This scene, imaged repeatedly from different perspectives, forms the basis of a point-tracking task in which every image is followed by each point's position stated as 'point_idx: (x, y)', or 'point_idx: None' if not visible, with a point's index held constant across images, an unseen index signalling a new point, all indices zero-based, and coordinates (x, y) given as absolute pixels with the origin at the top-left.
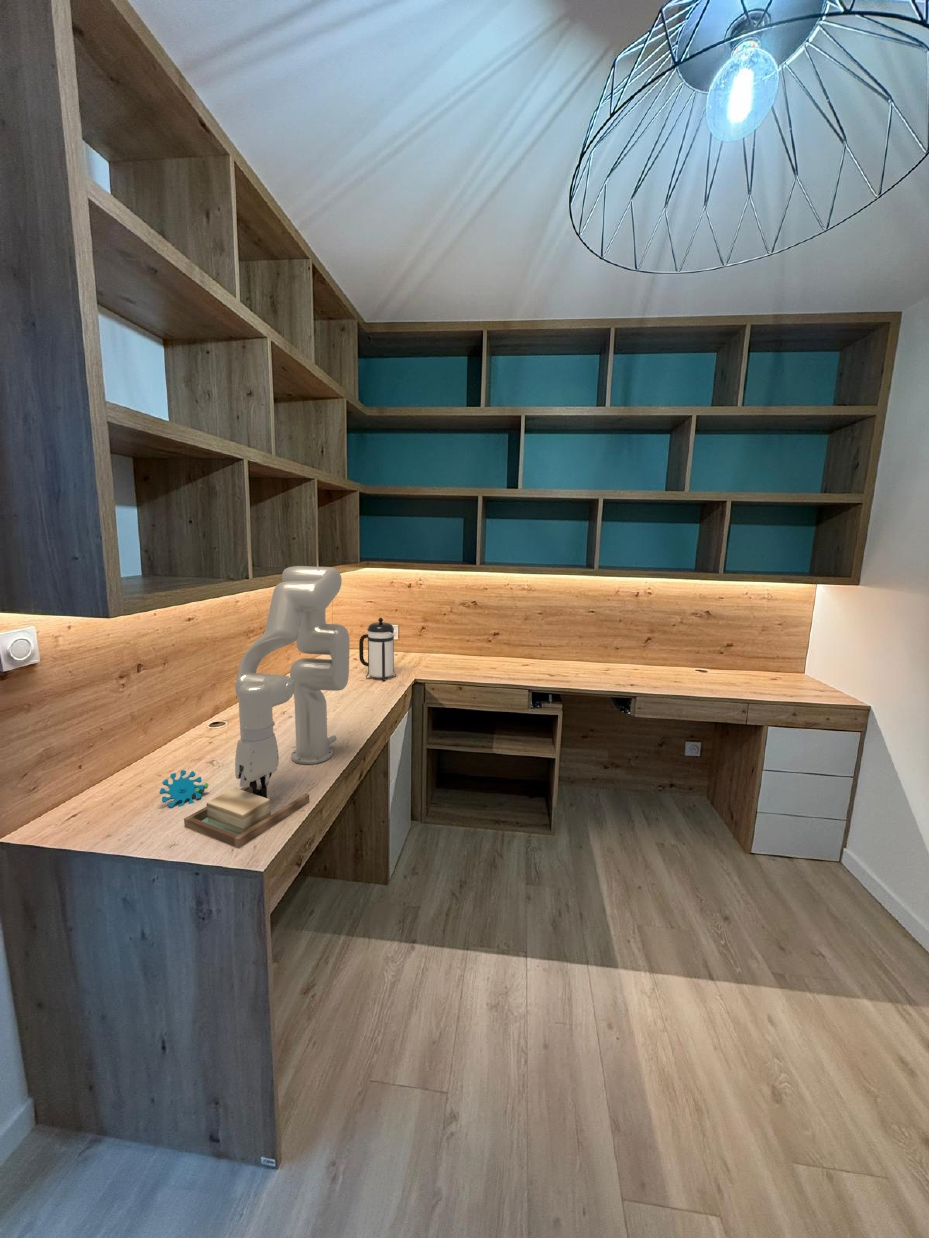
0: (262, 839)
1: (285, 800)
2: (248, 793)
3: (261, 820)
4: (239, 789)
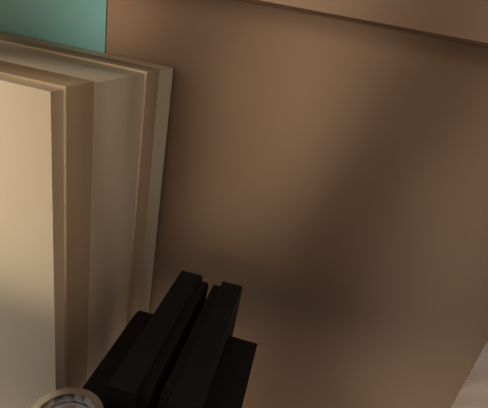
0: None
1: None
2: (36, 353)
3: None
4: (47, 198)
